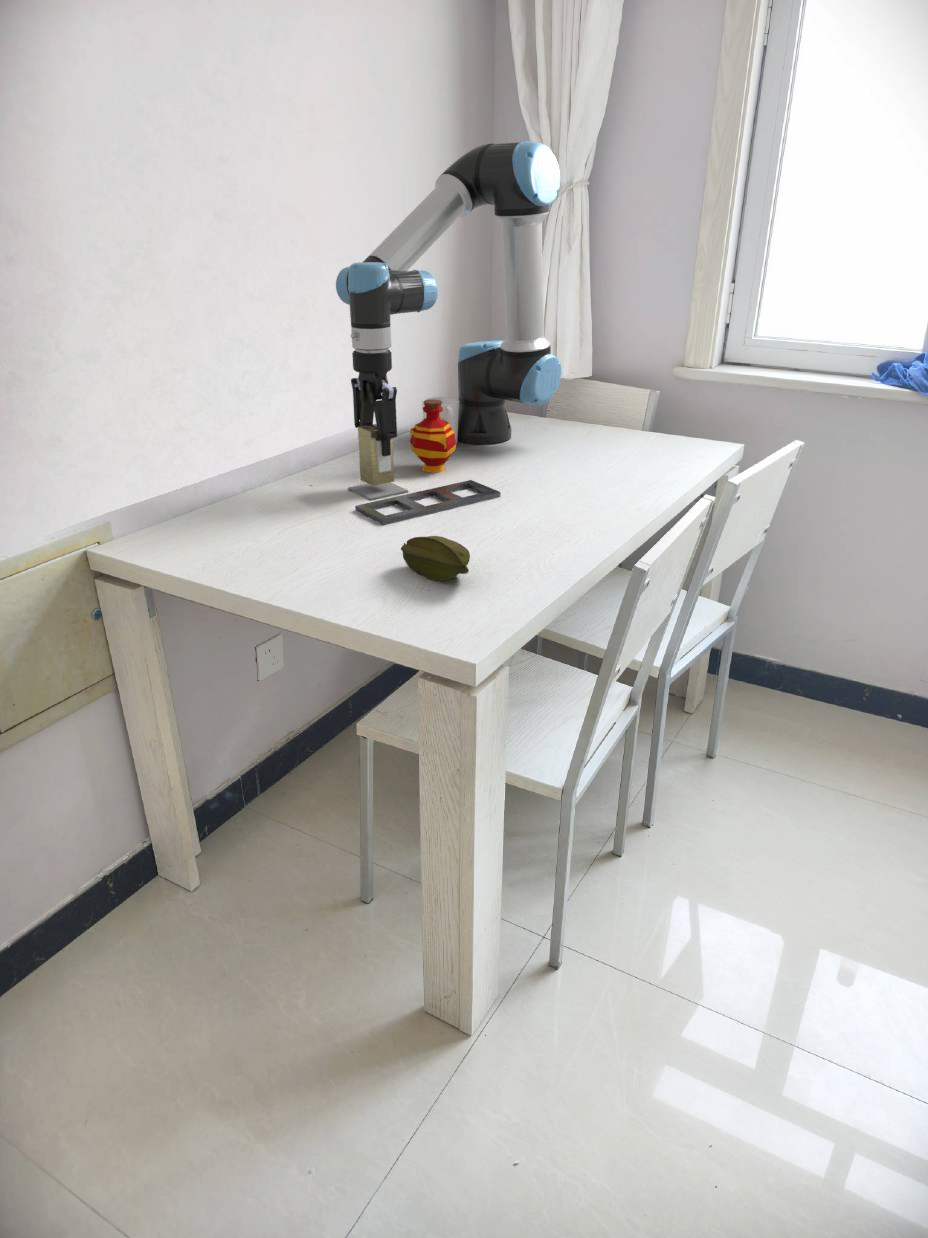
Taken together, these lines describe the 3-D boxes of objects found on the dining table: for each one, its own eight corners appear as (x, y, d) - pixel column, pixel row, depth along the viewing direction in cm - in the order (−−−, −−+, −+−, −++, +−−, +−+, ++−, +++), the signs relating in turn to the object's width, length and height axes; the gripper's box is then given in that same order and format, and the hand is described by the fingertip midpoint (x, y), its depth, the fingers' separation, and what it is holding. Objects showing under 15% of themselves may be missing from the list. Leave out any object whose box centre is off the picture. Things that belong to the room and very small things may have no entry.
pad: (348, 489, 177) (348, 487, 177) (385, 481, 182) (385, 479, 181) (370, 500, 170) (370, 498, 170) (408, 492, 175) (408, 490, 175)
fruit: (471, 562, 142) (471, 525, 139) (469, 592, 131) (469, 552, 128) (403, 561, 142) (402, 524, 140) (395, 591, 132) (393, 551, 129)
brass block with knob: (360, 479, 175) (357, 425, 170) (381, 475, 178) (379, 421, 173) (373, 485, 172) (370, 430, 167) (394, 481, 174) (392, 426, 169)
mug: (417, 440, 212) (416, 399, 207) (450, 437, 215) (450, 395, 210) (434, 451, 203) (434, 408, 198) (468, 447, 206) (468, 404, 201)
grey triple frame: (355, 510, 165) (355, 505, 164) (470, 484, 180) (470, 479, 179) (382, 525, 158) (382, 519, 157) (500, 496, 173) (500, 491, 172)
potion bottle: (458, 463, 194) (458, 396, 187) (453, 476, 185) (453, 407, 178) (413, 461, 195) (411, 395, 188) (406, 475, 186) (404, 406, 179)
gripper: (331, 345, 168) (339, 460, 178) (379, 358, 155) (384, 481, 165) (364, 341, 172) (370, 454, 182) (414, 353, 159) (416, 474, 169)
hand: (376, 467), depth 174 cm, fingers closed on brass block with knob, 5 cm apart
